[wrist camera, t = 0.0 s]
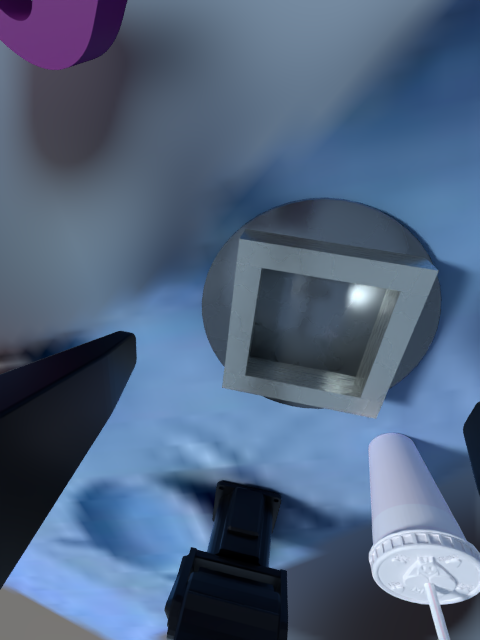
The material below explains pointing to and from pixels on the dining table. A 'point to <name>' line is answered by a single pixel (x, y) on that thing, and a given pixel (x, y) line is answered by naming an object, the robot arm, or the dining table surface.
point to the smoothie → (416, 532)
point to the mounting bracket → (60, 29)
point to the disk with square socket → (321, 305)
